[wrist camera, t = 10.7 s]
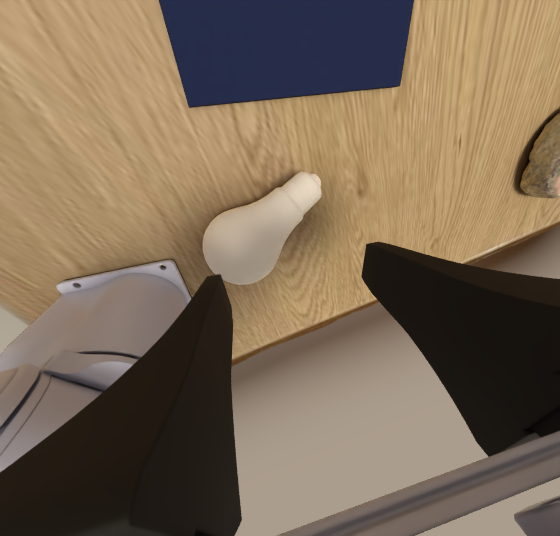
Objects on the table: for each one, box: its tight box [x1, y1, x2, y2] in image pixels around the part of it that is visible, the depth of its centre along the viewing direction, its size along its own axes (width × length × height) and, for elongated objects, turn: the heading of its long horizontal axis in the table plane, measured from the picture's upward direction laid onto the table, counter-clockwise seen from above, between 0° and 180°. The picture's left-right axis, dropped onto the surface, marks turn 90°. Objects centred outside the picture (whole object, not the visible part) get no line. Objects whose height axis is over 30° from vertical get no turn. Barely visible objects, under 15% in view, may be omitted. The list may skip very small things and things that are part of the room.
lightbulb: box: [203, 171, 321, 285], centre depth 16 cm, size 6×6×11 cm
